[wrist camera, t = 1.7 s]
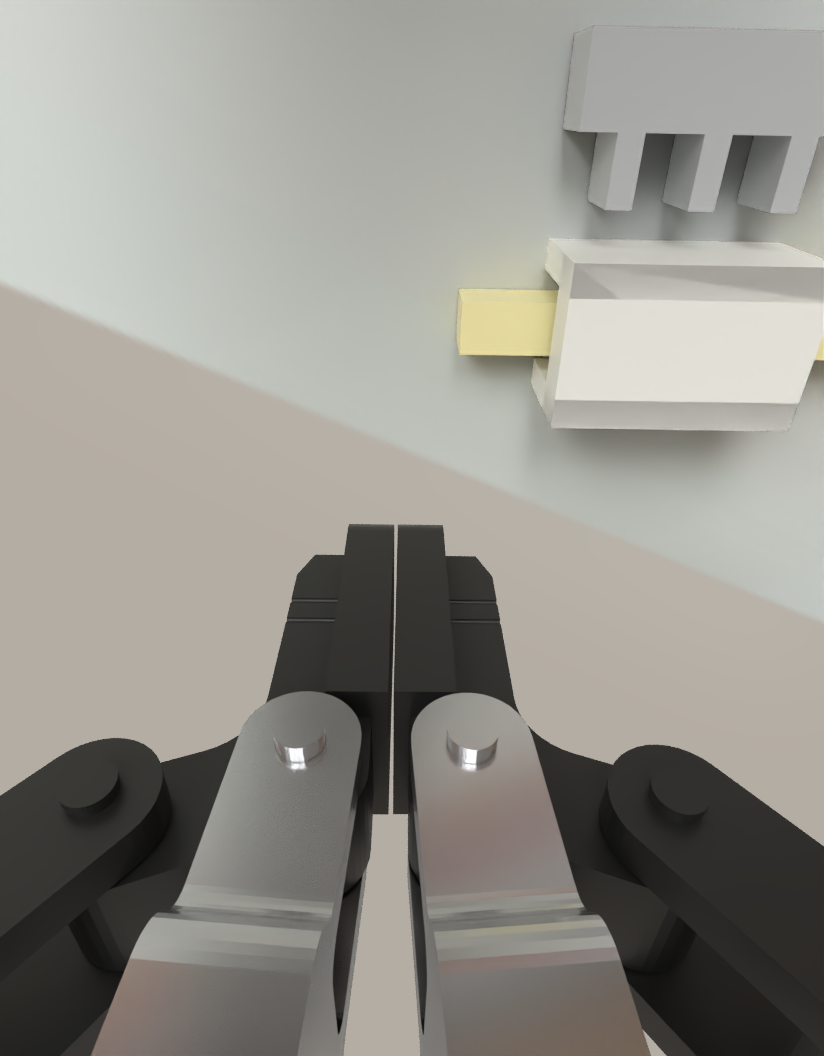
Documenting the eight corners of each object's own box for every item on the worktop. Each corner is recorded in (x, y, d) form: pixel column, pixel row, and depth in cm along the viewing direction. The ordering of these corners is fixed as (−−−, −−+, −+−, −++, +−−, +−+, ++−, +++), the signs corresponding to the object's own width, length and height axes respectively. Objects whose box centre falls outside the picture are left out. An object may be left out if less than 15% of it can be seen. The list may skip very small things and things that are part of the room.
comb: (574, 33, 19) (593, 25, 17) (842, 39, 19) (893, 32, 17) (553, 199, 22) (569, 209, 20) (792, 204, 22) (831, 214, 20)
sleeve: (548, 238, 22) (574, 263, 19) (779, 242, 22) (848, 267, 19) (530, 382, 25) (550, 428, 22) (735, 385, 25) (788, 431, 22)
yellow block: (458, 288, 23) (462, 301, 22) (1081, 299, 23) (1127, 312, 22) (456, 339, 24) (459, 354, 23) (1053, 348, 24) (1096, 364, 23)
